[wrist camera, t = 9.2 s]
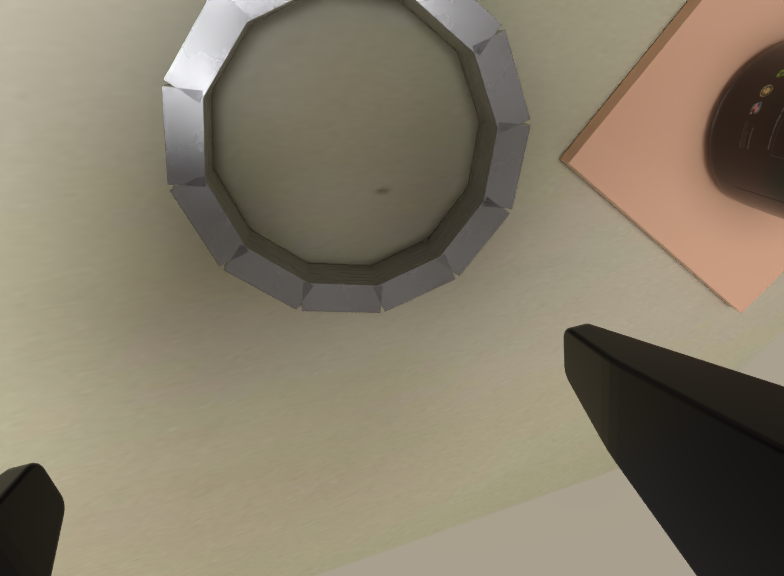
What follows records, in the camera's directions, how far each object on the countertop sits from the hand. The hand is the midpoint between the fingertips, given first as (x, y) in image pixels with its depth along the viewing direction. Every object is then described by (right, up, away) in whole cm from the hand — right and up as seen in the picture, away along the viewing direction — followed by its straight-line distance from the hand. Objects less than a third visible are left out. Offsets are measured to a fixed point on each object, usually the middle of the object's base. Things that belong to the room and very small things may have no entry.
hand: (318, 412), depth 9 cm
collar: (0, +8, +11) cm, 13 cm away
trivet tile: (+17, +9, +14) cm, 24 cm away
